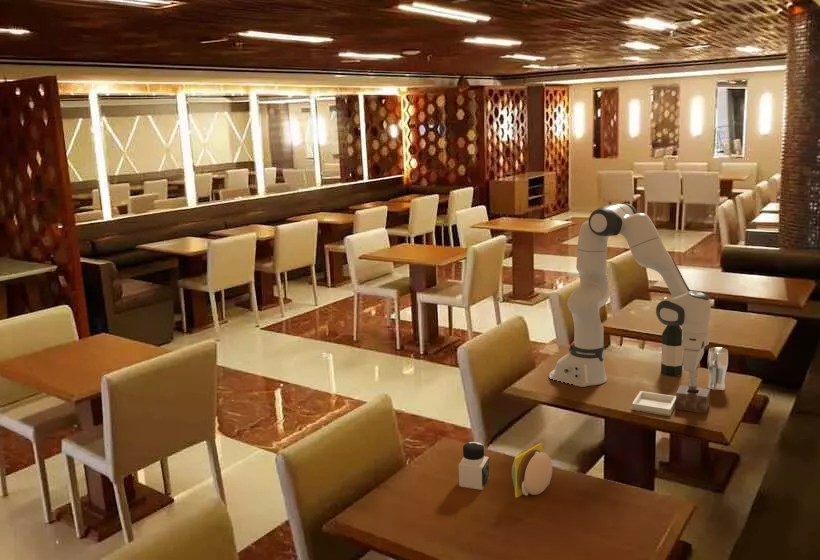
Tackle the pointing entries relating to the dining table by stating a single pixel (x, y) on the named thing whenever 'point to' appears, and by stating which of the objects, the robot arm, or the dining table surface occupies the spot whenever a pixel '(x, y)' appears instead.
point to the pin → (693, 382)
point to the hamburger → (531, 471)
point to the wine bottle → (672, 351)
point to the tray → (654, 403)
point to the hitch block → (692, 399)
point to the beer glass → (717, 367)
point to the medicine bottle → (473, 467)
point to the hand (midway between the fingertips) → (693, 375)
